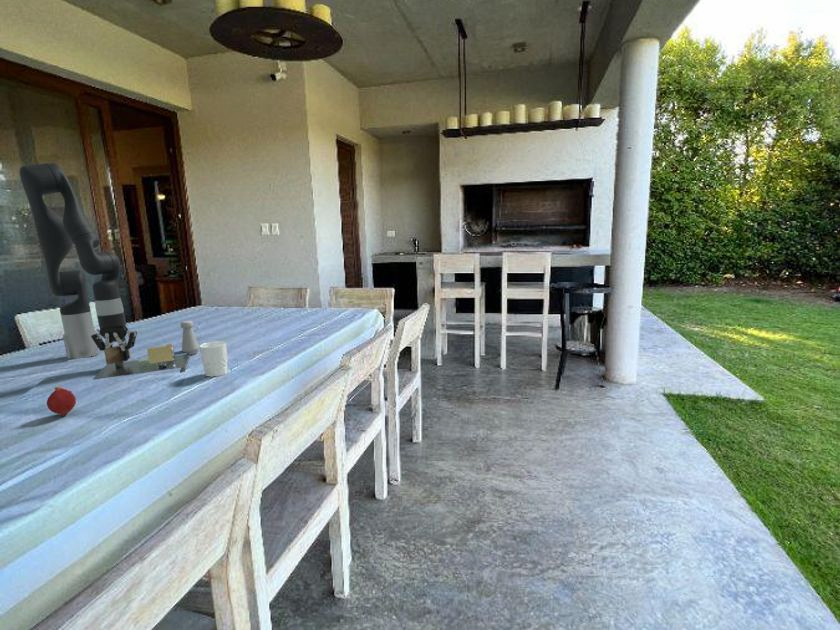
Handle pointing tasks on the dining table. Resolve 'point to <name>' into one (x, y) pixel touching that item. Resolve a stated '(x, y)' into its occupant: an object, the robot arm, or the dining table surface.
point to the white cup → (214, 358)
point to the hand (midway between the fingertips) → (119, 360)
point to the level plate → (142, 367)
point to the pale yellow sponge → (160, 355)
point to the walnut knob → (114, 356)
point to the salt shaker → (189, 338)
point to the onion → (61, 401)
